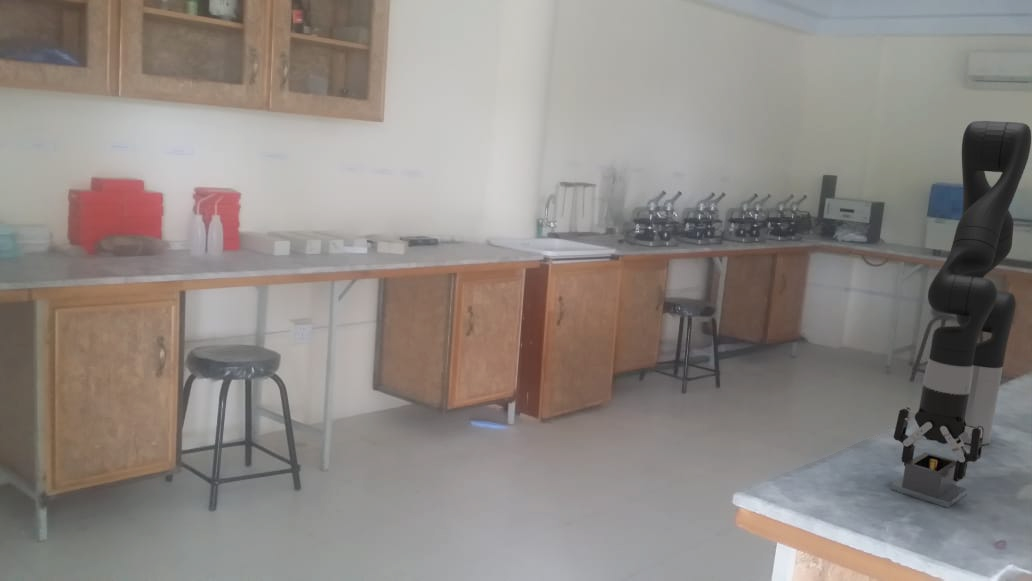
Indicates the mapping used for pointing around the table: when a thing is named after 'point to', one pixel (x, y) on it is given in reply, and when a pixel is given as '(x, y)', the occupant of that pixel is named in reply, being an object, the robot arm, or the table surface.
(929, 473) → the grey storage bin
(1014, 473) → the table surface
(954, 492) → the peg plate
